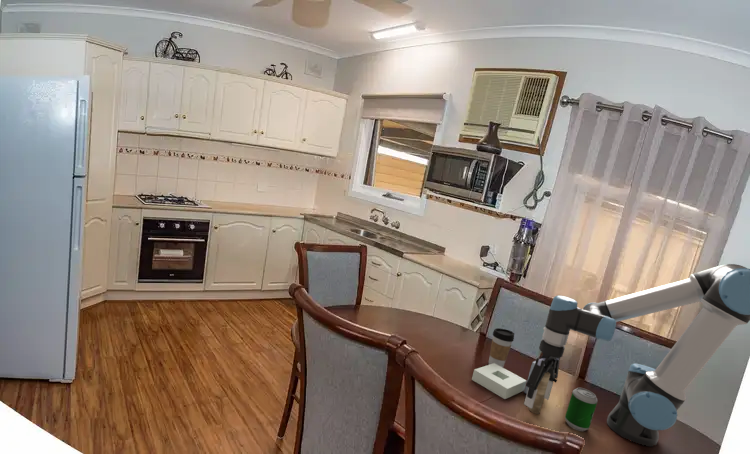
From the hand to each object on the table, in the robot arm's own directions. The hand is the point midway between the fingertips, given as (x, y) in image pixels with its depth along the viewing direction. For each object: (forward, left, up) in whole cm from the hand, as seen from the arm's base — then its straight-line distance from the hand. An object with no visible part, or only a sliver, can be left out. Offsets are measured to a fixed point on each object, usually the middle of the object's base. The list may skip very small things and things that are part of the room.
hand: (536, 401), depth 147 cm
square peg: (+6, -11, -3) cm, 13 cm away
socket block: (+16, -3, -3) cm, 17 cm away
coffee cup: (+26, -18, -3) cm, 32 cm away
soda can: (-12, -6, -3) cm, 14 cm away
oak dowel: (0, 0, -3) cm, 3 cm away
